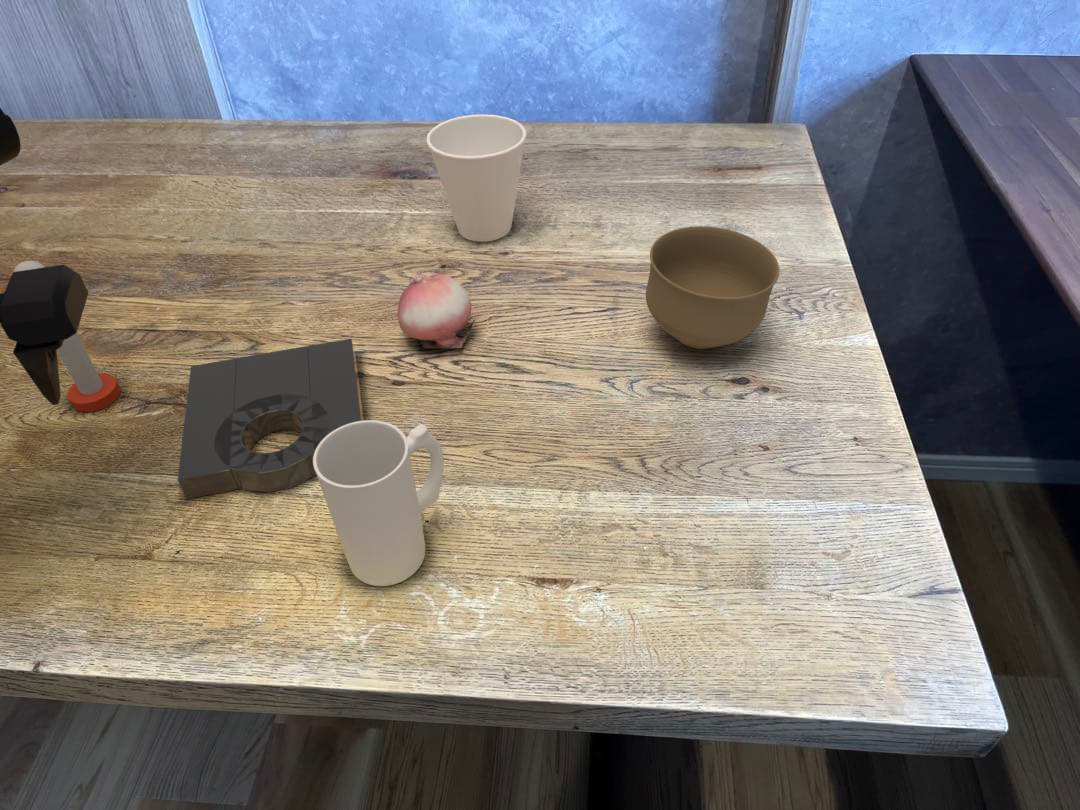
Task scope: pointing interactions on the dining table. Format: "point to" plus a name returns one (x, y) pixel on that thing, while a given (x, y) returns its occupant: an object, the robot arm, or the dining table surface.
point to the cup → (479, 171)
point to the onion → (435, 311)
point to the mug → (378, 496)
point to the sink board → (265, 416)
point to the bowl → (709, 285)
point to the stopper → (82, 370)
